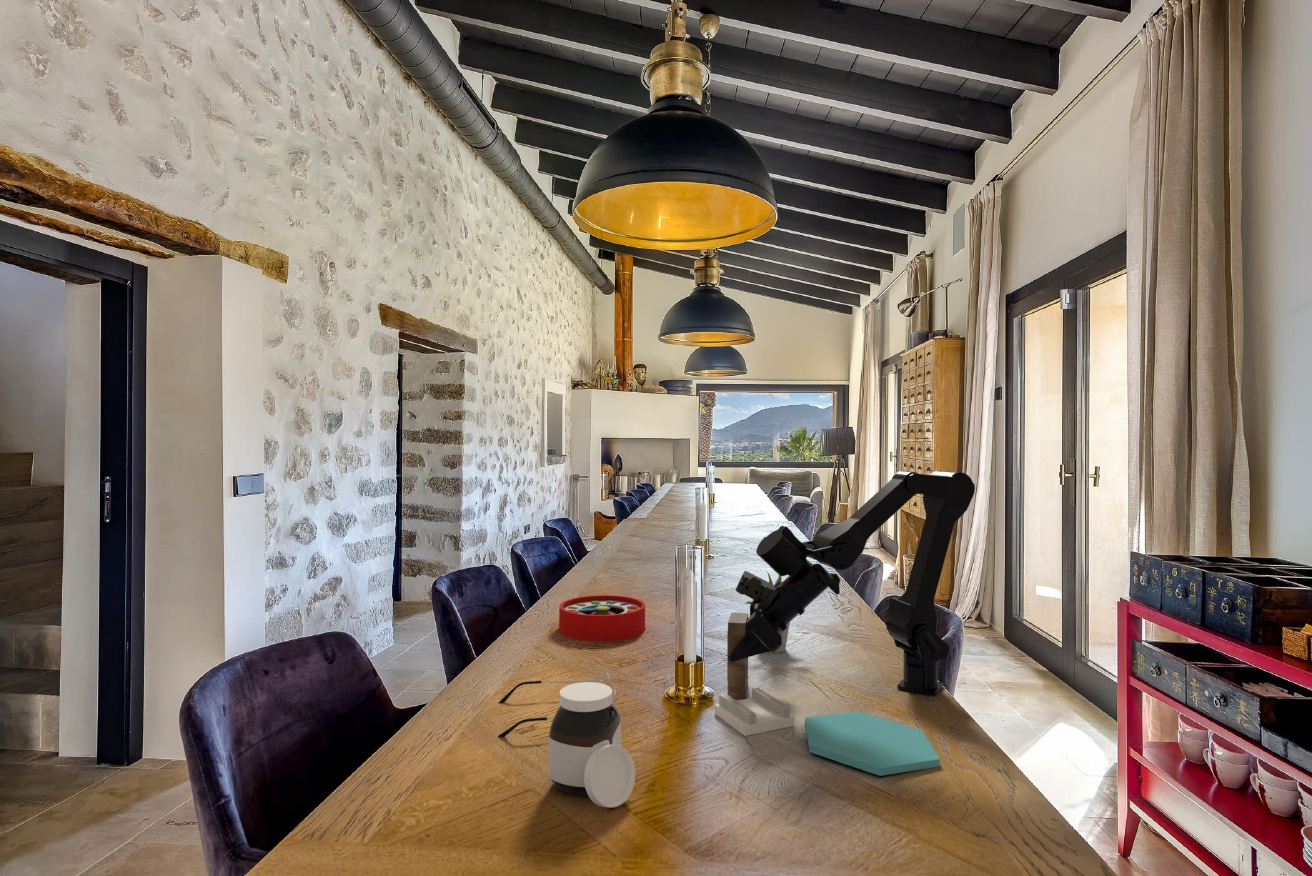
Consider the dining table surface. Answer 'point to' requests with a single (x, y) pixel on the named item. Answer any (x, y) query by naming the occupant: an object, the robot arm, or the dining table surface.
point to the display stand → (754, 713)
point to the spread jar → (590, 746)
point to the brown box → (738, 669)
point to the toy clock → (602, 618)
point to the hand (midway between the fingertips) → (732, 651)
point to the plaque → (870, 743)
